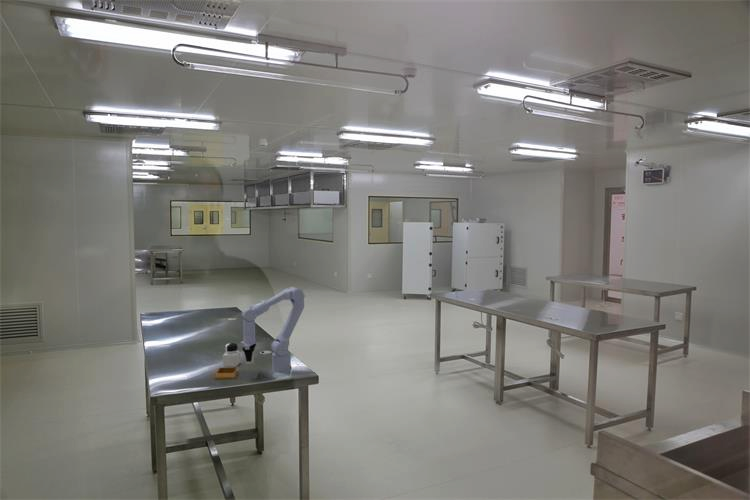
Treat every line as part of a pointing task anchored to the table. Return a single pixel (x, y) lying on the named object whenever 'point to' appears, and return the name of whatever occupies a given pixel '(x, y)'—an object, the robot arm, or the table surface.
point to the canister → (251, 360)
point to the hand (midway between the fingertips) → (249, 360)
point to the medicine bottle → (231, 355)
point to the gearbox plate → (234, 374)
